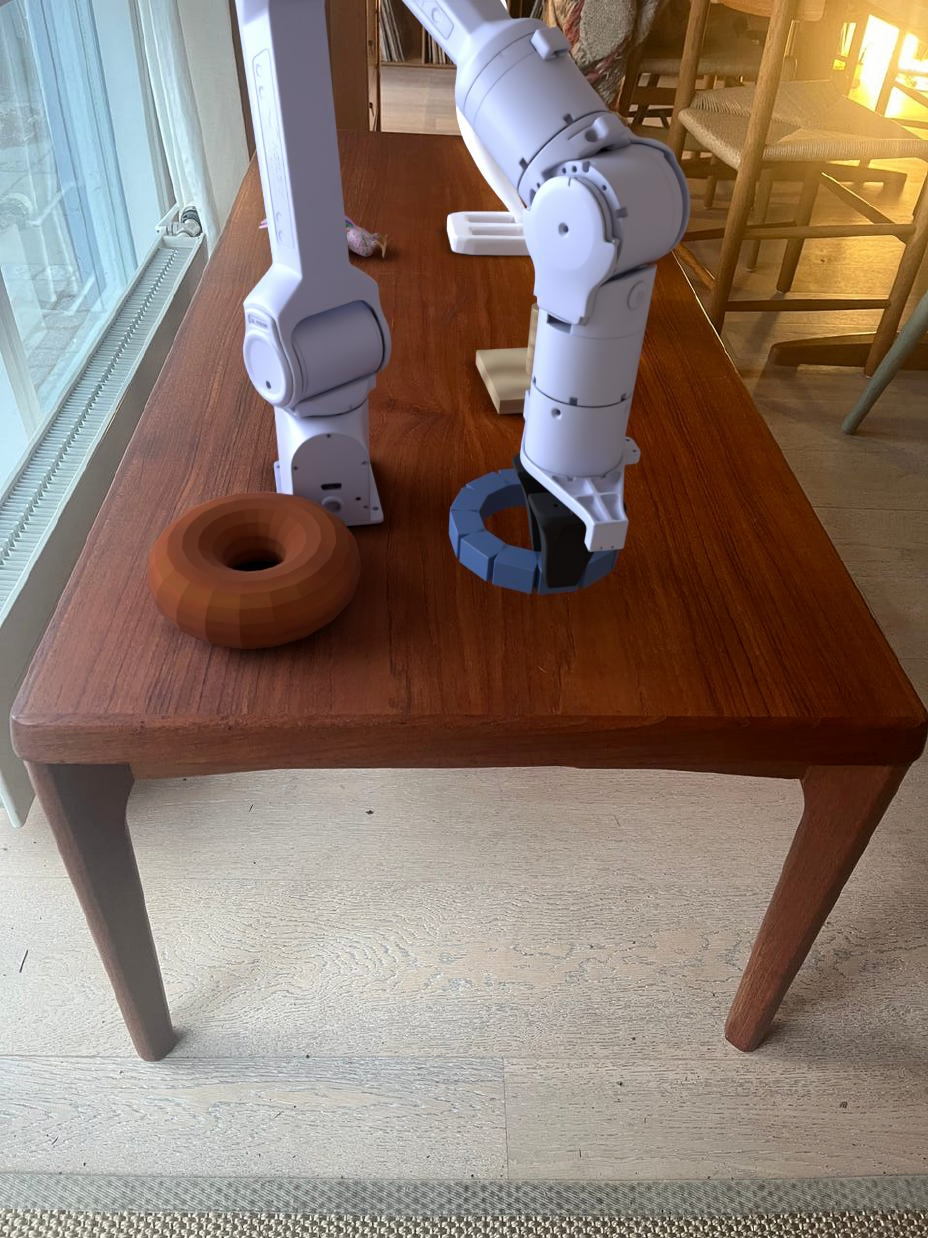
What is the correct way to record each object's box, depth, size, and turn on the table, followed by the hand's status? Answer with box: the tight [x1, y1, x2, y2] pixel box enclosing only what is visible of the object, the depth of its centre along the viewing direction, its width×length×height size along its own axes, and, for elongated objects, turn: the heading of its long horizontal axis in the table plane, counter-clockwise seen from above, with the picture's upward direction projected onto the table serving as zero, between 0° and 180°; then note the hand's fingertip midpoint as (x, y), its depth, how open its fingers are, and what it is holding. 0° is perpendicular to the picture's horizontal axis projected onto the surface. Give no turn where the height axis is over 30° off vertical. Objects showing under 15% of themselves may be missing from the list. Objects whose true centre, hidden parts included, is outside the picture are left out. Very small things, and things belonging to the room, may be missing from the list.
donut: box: [146, 490, 362, 650], centre depth 69 cm, size 15×15×5 cm
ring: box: [448, 468, 621, 596], centre depth 67 cm, size 12×12×2 cm
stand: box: [475, 302, 539, 415], centre depth 93 cm, size 10×10×8 cm
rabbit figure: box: [258, 206, 388, 259], centre depth 115 cm, size 6×6×15 cm
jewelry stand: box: [446, 0, 531, 256], centre depth 118 cm, size 25×16×25 cm, turn 6°
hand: (555, 571), depth 63 cm, fingers closed on ring, 2 cm apart
